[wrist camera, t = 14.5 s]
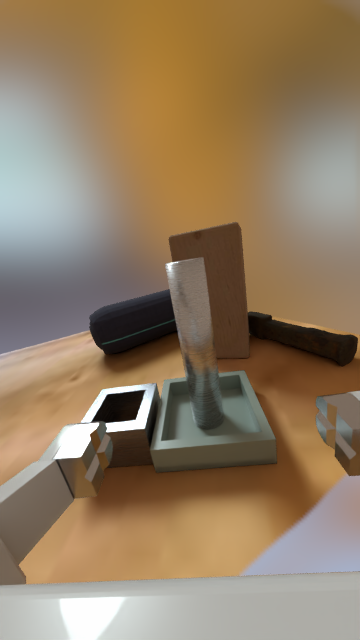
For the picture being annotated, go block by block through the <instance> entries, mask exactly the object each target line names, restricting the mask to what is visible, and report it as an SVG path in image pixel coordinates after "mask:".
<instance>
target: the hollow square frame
mask: <svg viewBox="0 0 360 640" xmlns="http://www.w3.org/2000/svg"><path fill="white" fill-rule="evenodd" d="M159 404H160V397H159V392H158V388H157V384H156V383H152V384H144V385H136V386H127V387H119V388H111V389H103V390H102V391H101V392H100V394H99V395H98V397H97V398H96V400H95V402H94V403H93V405H92V406H91V408H90V409H89V411H88V412H87V414H86V415H85V417H84V419H83V420H82V422H81V423H85V422H97V421H103V422H105V424H106V426H107V431H106V433H105V434H107V435H108V436H109V437H111V440H112V445H113V452H112V458H111V461H110V464H109V465H108V466H107V467H106V468H111V467H123V466H135V465H147V464H154V463H153V460H152V456H151V452H150V448H151V443H152V438H153V433H154V428H155V423H156V418H157V413H158V409H159Z"/></svg>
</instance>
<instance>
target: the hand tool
mask: <svg viewBox="0 0 360 640" xmlns="http://www.w3.org/2000/svg"><path fill="white" fill-rule="evenodd" d="M248 325H249V333H250V334H251V335H254V336H256V337H258V338H260V339H267V338H270V339H273V340H276V341H279V342H281V343H286V344H289V345H291V346H294V347H298V348H301V349H303V350H306V351H309V352H312V353H315V354H318V355H321V356H323V357H328V358H331V359H334V360H337V362H338V363H339V365H340V366H344V365H346V364H348V363H349V362H351V361H352V359H353V358H354V356H355V353H356V351H357V343H358V338H357V337H355V336H354V335H341V334H334V333H330V332H326V331H322V330H319V329H315V328H306V327H301V326H297V325H292V324H288V323H284V322H280V321H276V320H272V316H271V315H267V314H266V315H265V314H262V313H257V312H248Z"/></svg>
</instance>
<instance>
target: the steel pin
mask: <svg viewBox="0 0 360 640" xmlns="http://www.w3.org/2000/svg"><path fill="white" fill-rule="evenodd" d="M165 266H166V272H167V277H168V283H169V288H170V294H171V299H172V305H173V310H174V315H175V321H176V326H177V332H178V337H179V343H180V348H181V354H182V359H183V365H184V370H185V376H186V381H187V387H188V392H189V398H190V403H191V408H192V414H193V419H194V423H195V424H196V426H198V427H199V428H201V429H204V430H212V429H216V428H218V427H219V426H220V425H221V424H222V423H223V421H224V411H223V403H222V396H221V388H220V380H219V372H218V365H217V357H216V349H215V341H214V334H213V326H212V318H211V310H210V303H209V295H208V287H207V279H206V271H205V264H204V257H201V258H194V259H188V260H182V261H177V262H172V263H167V264H165Z"/></svg>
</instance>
